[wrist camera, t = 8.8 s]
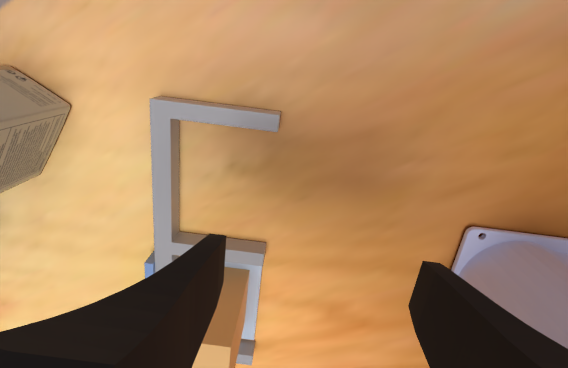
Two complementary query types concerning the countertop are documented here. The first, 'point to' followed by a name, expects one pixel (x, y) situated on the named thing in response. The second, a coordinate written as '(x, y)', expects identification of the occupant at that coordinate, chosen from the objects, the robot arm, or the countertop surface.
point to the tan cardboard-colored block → (225, 323)
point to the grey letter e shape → (167, 195)
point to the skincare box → (26, 126)
